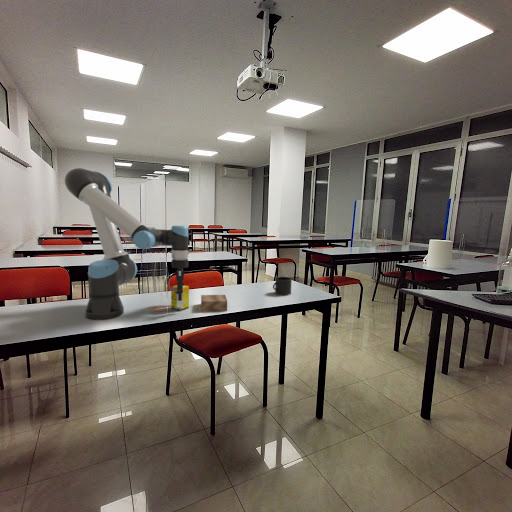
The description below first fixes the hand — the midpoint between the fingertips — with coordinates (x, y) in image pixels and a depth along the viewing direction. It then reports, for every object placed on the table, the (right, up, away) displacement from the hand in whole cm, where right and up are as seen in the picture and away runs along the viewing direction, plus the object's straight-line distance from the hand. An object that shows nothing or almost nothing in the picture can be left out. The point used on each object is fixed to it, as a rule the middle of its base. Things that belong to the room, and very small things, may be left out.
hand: (180, 302), depth 143 cm
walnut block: (+15, -3, +4) cm, 16 cm away
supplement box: (0, -3, 0) cm, 3 cm away
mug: (+51, 0, +35) cm, 62 cm away
